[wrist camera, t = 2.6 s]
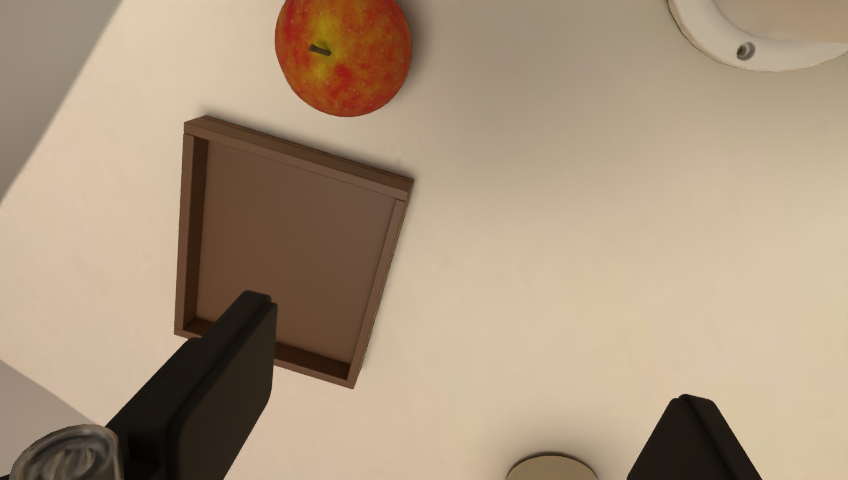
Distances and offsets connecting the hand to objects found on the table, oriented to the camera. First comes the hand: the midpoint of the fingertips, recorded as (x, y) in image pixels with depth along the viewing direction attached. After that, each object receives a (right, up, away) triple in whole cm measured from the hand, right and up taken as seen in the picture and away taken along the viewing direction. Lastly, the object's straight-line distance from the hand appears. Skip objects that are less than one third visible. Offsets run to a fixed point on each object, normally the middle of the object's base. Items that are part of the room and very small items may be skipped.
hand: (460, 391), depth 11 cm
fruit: (-4, +15, +17) cm, 23 cm away
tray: (-11, +2, +23) cm, 26 cm away
